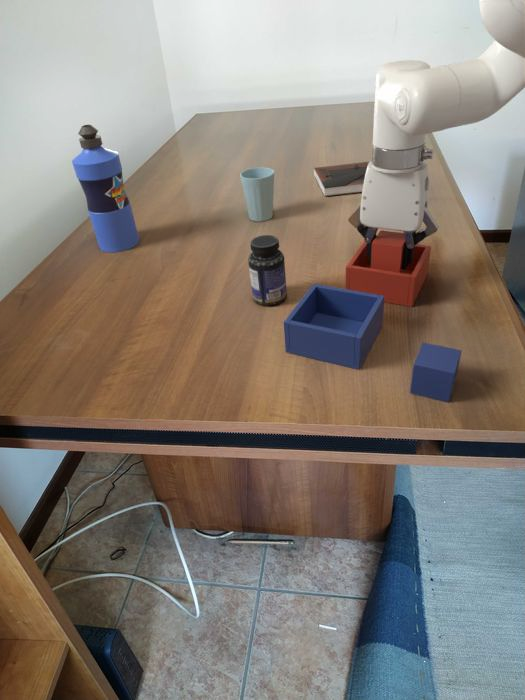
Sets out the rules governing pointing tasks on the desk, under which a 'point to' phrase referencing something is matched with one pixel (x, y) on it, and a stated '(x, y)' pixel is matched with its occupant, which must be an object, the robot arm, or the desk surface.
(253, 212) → the cup
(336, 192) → the hardcover book
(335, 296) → the blue bin
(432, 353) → the blue block
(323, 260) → the desk surface
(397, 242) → the red block
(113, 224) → the water bottle
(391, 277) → the red bin
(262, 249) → the pill bottle
